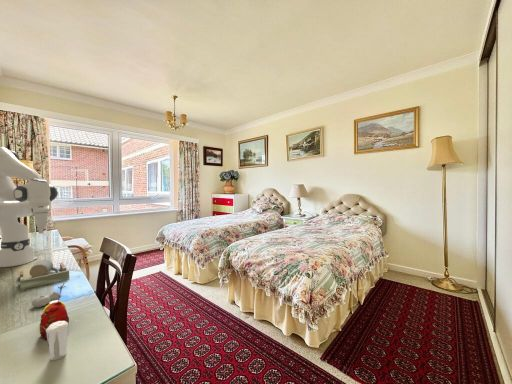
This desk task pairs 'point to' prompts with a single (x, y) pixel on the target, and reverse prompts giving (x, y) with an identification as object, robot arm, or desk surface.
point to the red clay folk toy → (53, 315)
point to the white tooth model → (57, 339)
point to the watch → (51, 303)
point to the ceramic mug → (42, 268)
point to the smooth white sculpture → (44, 299)
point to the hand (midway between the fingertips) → (40, 233)
